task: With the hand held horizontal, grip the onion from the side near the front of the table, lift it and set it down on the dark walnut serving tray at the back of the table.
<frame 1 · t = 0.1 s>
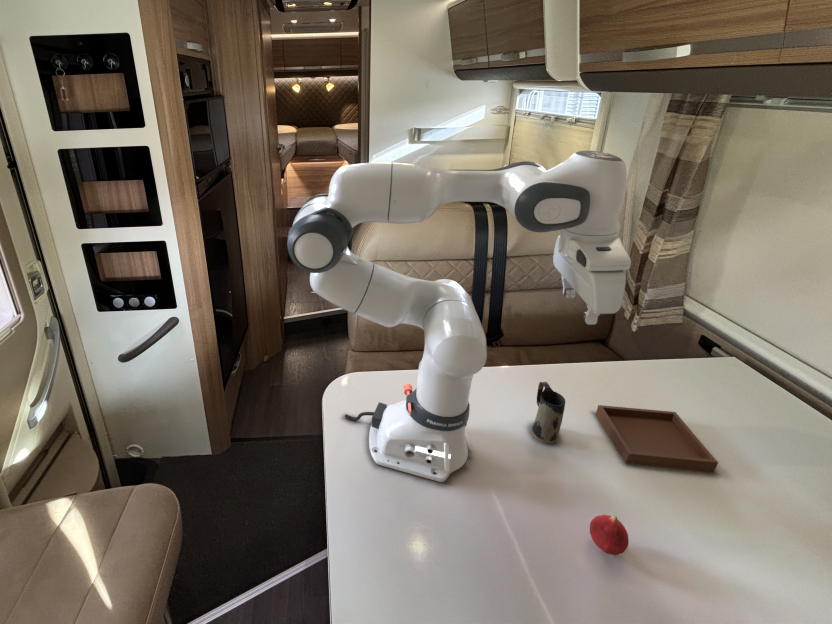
hand: (578, 308, 81), 39 cm above the table, tool pointing down, fingers open, 8 cm apart
tray: (649, 441, 100), on the table
onion: (603, 548, 78), on the table
mug: (541, 431, 103), on the table
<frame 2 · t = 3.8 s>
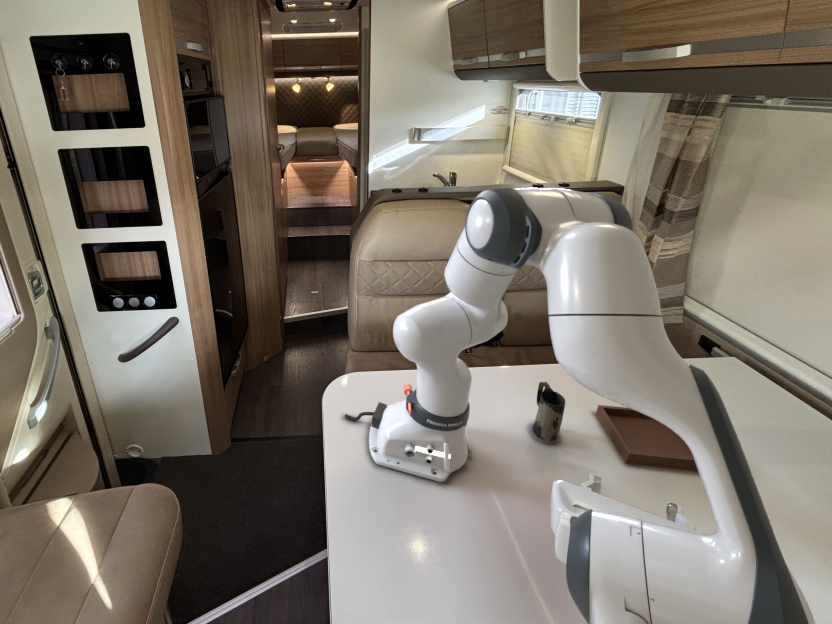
hand: (632, 492, 63), 23 cm above the table, tool horizontal, fingers open, 8 cm apart
nothing on the table moved.
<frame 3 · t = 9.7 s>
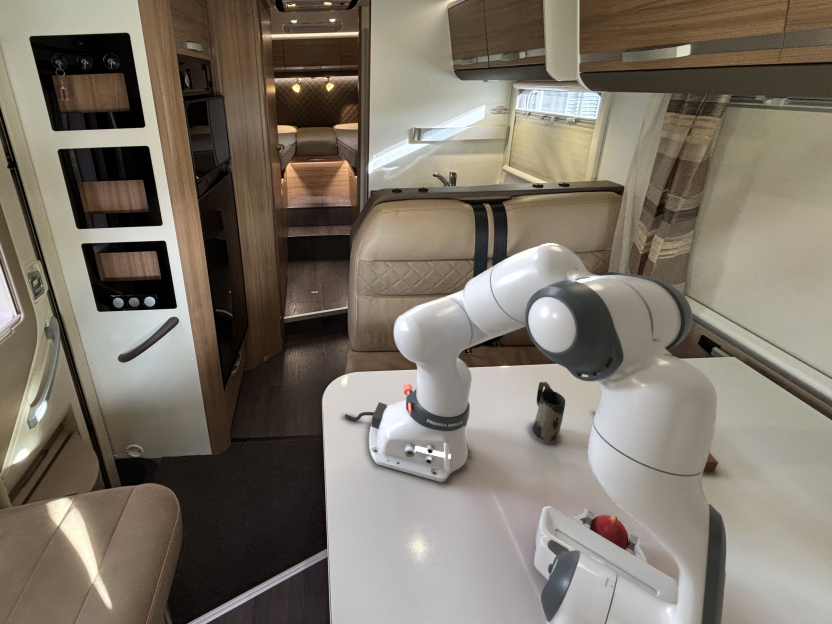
hand: (611, 525, 76), 5 cm above the table, tool horizontal, fingers closed on onion, 6 cm apart
onion: (603, 548, 78), on the table, touching gripper
everything else where it was.
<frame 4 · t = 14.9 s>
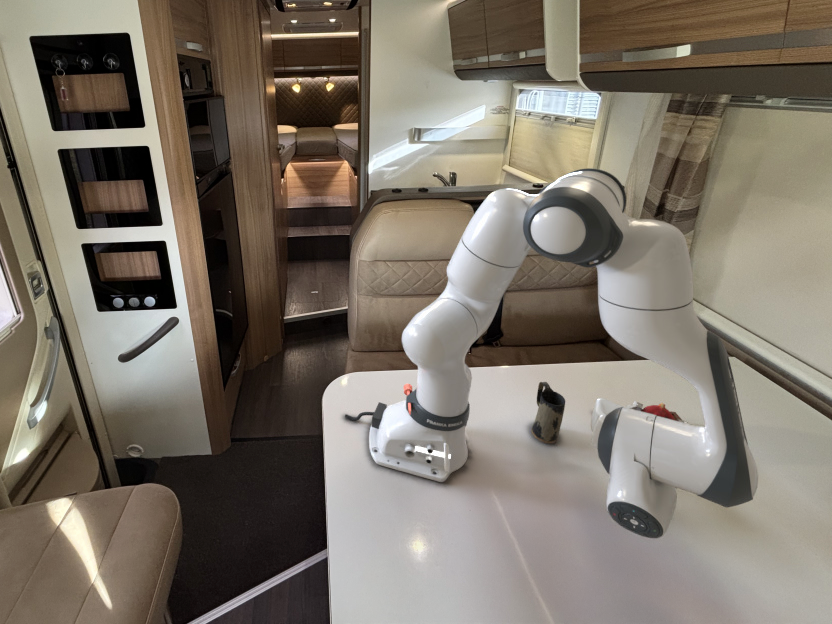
hand: (658, 413, 85), 17 cm above the table, tool horizontal, fingers closed on onion, 6 cm apart
onion: (651, 436, 86), point 12 cm above the table, touching gripper
everything else where it was.
when the fingers open (6 cm above the table, at t = 20.1 s): onion stays where it is, resting on tray.
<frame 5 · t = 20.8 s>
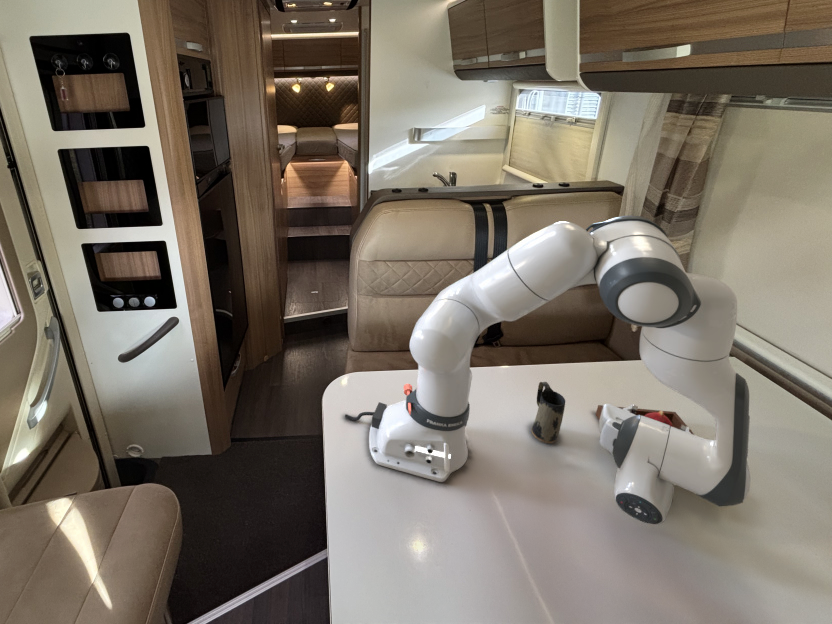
hand: (658, 417, 98), 7 cm above the table, tool horizontal, fingers open, 8 cm apart
onion: (651, 439, 99), point 1 cm above the table, touching tray
everything else where it was.
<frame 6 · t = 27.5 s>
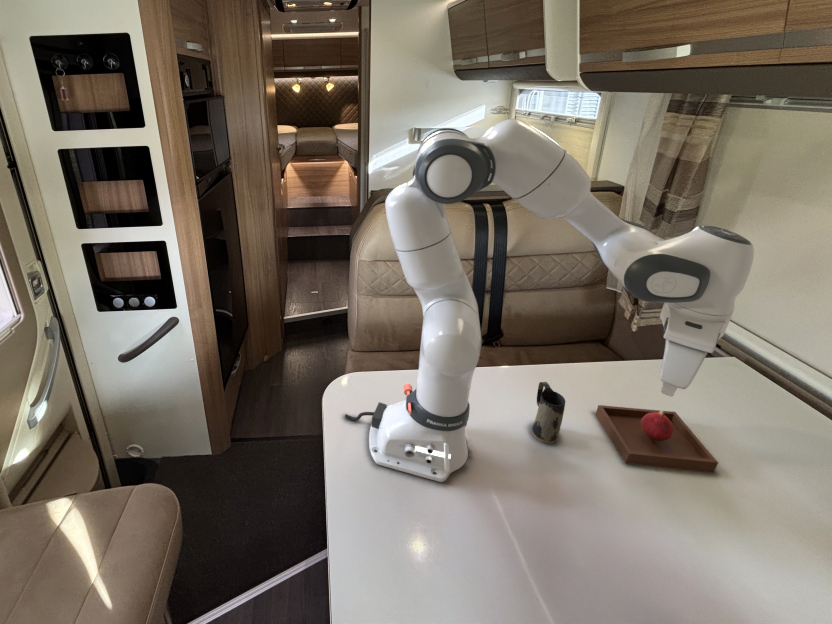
hand: (669, 379, 80), 27 cm above the table, tool pointing down, fingers open, 8 cm apart
nothing on the table moved.
at the end: onion inside the target area in the tray (0.2 cm from its centre), point 0.8 cm above the tray's base; the gripper is holding nothing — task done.
